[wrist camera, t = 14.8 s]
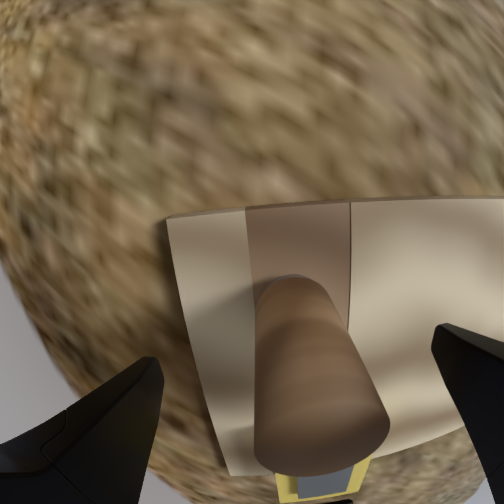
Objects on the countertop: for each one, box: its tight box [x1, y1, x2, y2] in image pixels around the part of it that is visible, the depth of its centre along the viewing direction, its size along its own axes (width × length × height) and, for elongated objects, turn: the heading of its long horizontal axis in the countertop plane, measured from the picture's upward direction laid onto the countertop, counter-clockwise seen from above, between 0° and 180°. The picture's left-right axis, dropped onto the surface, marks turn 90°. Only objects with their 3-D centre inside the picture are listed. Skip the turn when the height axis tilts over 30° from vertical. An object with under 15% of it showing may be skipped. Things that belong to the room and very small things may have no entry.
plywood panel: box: [166, 196, 504, 476], centre depth 13 cm, size 18×19×1 cm
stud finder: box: [275, 453, 373, 503], centre depth 13 cm, size 6×5×4 cm
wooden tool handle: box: [254, 274, 390, 477], centre depth 8 cm, size 3×3×7 cm
